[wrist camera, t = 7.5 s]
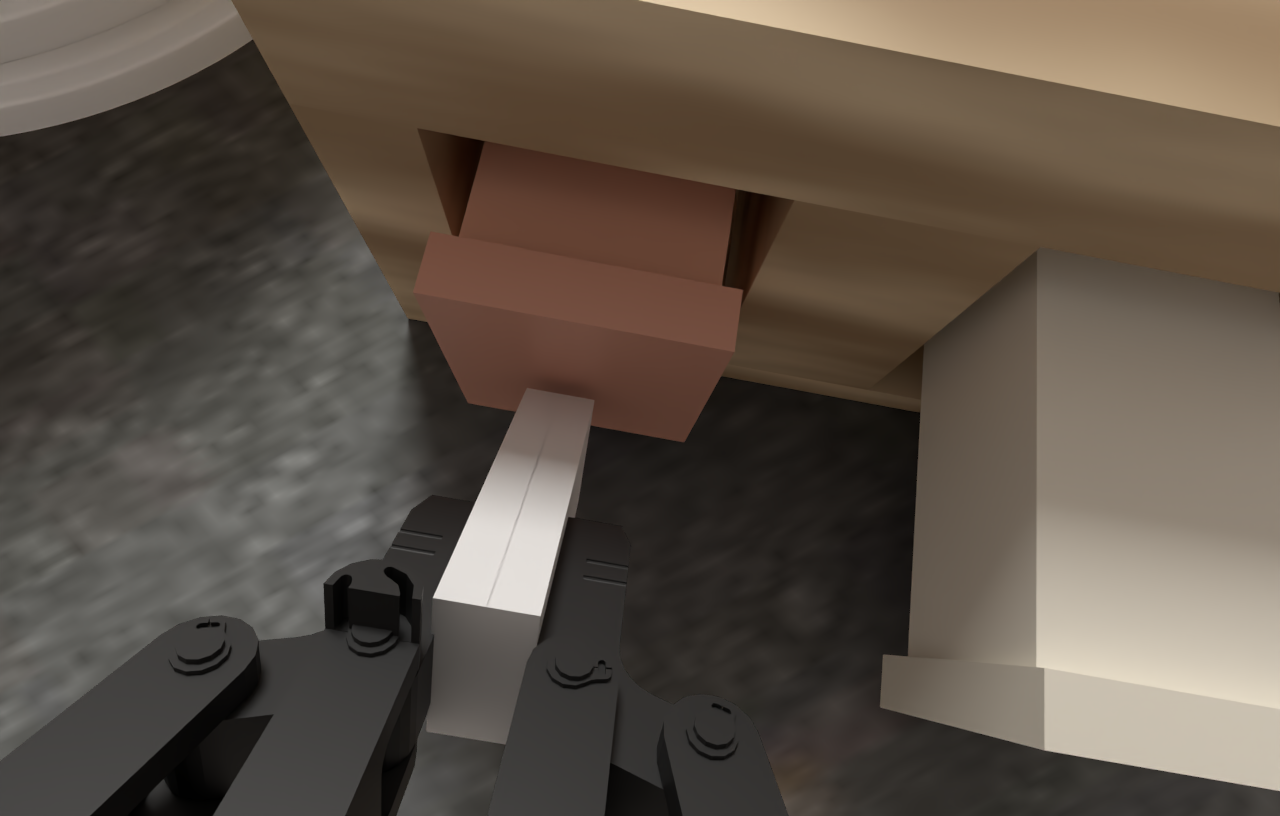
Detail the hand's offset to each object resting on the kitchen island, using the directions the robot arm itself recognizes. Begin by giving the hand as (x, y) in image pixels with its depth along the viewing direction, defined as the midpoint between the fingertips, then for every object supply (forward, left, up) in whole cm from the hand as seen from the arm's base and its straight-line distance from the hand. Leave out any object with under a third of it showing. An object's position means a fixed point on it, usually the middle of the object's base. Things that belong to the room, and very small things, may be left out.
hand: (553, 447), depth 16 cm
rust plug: (+5, -9, -2) cm, 10 cm away
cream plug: (-8, -9, -2) cm, 12 cm away
